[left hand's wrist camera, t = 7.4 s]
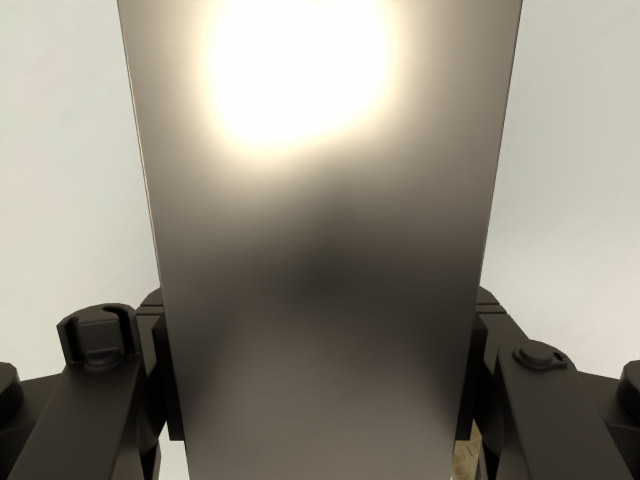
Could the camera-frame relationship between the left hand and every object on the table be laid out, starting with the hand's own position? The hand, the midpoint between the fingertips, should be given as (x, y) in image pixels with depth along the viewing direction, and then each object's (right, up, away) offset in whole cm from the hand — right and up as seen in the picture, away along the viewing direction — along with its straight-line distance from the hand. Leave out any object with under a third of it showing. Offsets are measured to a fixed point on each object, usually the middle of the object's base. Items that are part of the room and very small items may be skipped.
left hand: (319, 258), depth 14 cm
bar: (0, +7, -2) cm, 8 cm away
